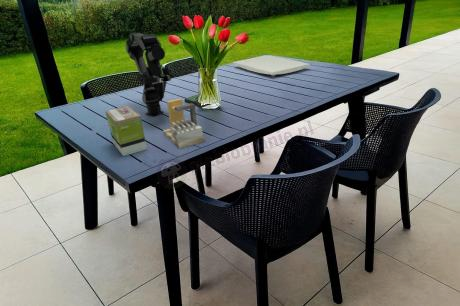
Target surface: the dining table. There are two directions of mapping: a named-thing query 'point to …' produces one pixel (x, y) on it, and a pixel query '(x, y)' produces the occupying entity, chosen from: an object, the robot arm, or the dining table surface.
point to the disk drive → (194, 101)
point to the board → (271, 65)
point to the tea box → (126, 130)
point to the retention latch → (175, 115)
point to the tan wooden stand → (185, 129)
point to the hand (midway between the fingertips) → (162, 98)
